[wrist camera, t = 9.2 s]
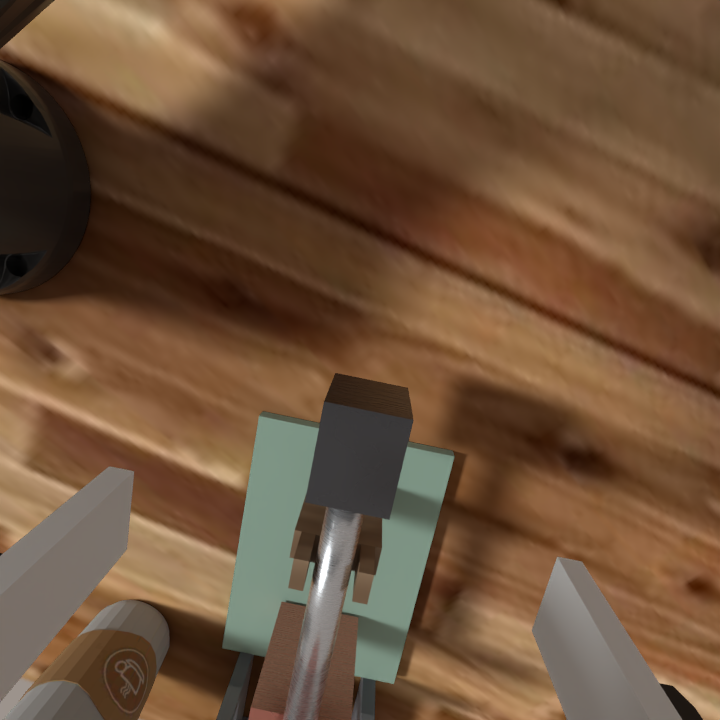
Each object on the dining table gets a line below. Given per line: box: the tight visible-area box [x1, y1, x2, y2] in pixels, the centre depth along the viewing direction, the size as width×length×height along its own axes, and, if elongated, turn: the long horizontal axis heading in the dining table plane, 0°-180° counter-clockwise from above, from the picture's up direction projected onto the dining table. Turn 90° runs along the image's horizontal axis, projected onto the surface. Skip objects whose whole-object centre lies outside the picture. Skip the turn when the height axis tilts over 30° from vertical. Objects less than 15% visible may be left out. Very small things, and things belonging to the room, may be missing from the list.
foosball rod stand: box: [248, 373, 413, 720], centre depth 26 cm, size 22×6×16 cm, turn 169°
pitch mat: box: [222, 411, 455, 684], centre depth 36 cm, size 20×14×1 cm
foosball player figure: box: [288, 496, 382, 605], centre depth 30 cm, size 2×5×11 cm, turn 78°
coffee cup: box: [3, 600, 170, 720], centre depth 32 cm, size 8×8×15 cm
